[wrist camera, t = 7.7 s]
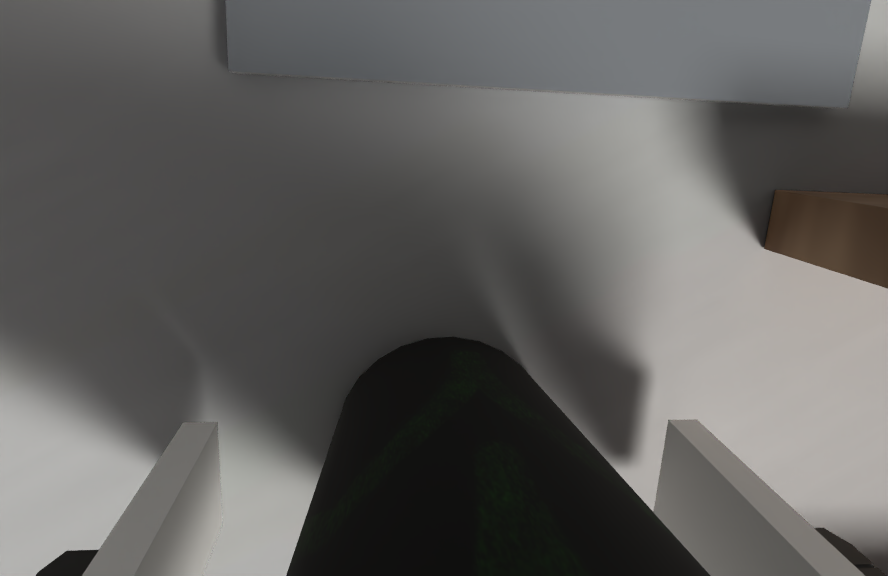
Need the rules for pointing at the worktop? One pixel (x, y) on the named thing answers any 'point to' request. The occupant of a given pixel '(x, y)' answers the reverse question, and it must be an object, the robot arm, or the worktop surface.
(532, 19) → the coaster
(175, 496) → the robot arm
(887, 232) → the wooden frame
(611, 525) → the cup
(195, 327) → the worktop surface
